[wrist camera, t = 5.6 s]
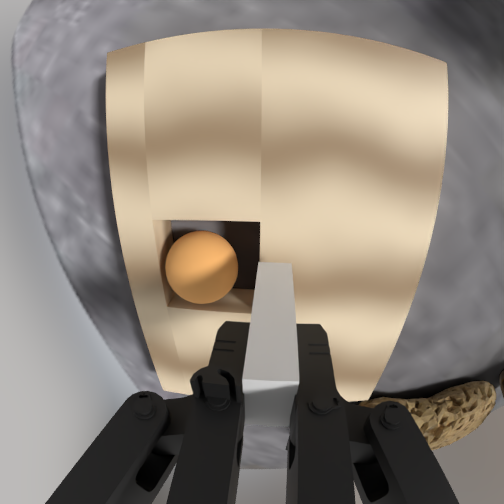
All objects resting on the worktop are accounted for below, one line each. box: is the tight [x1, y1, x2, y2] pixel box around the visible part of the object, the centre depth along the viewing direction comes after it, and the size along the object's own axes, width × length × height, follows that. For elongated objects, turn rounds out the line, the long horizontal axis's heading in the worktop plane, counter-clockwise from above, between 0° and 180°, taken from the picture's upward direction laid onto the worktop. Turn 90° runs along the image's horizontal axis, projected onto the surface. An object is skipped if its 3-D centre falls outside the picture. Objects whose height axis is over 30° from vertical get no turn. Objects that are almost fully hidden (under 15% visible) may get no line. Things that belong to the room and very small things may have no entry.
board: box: [106, 29, 448, 402], centre depth 15 cm, size 24×17×2 cm
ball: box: [165, 231, 238, 304], centre depth 15 cm, size 4×4×4 cm
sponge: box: [359, 381, 496, 450], centre depth 20 cm, size 13×8×20 cm
